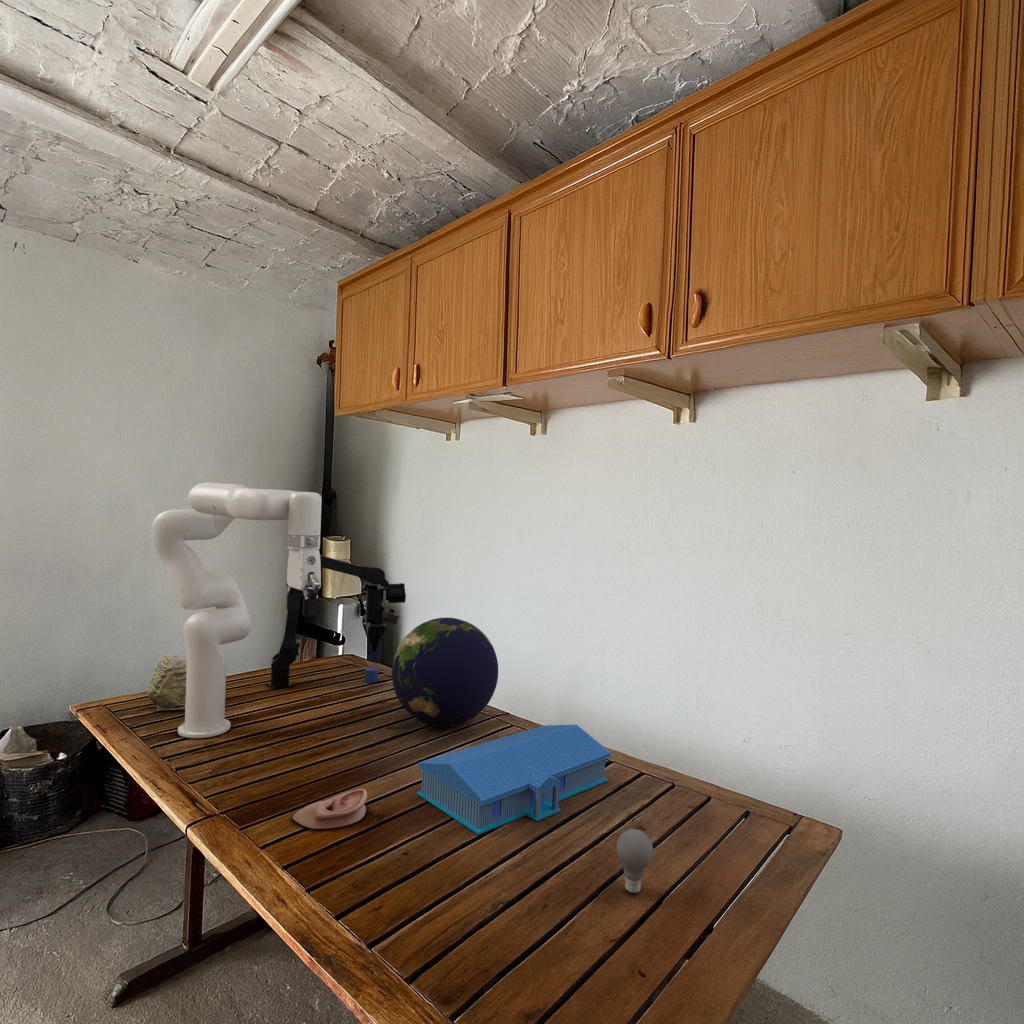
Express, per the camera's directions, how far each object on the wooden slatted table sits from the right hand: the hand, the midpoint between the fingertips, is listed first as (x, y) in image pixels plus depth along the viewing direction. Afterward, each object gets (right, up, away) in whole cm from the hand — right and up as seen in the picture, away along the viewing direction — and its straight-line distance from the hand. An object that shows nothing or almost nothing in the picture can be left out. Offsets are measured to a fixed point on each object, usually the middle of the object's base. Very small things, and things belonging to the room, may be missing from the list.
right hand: (372, 648), depth 218 cm
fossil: (-48, -10, -33) cm, 59 cm away
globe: (+28, -13, -39) cm, 50 cm away
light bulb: (+68, -16, -112) cm, 133 cm away
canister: (-1, -11, 0) cm, 11 cm away
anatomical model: (+12, -14, -92) cm, 94 cm away
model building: (+50, -15, -77) cm, 93 cm away
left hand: (-3, +22, -64) cm, 68 cm away
